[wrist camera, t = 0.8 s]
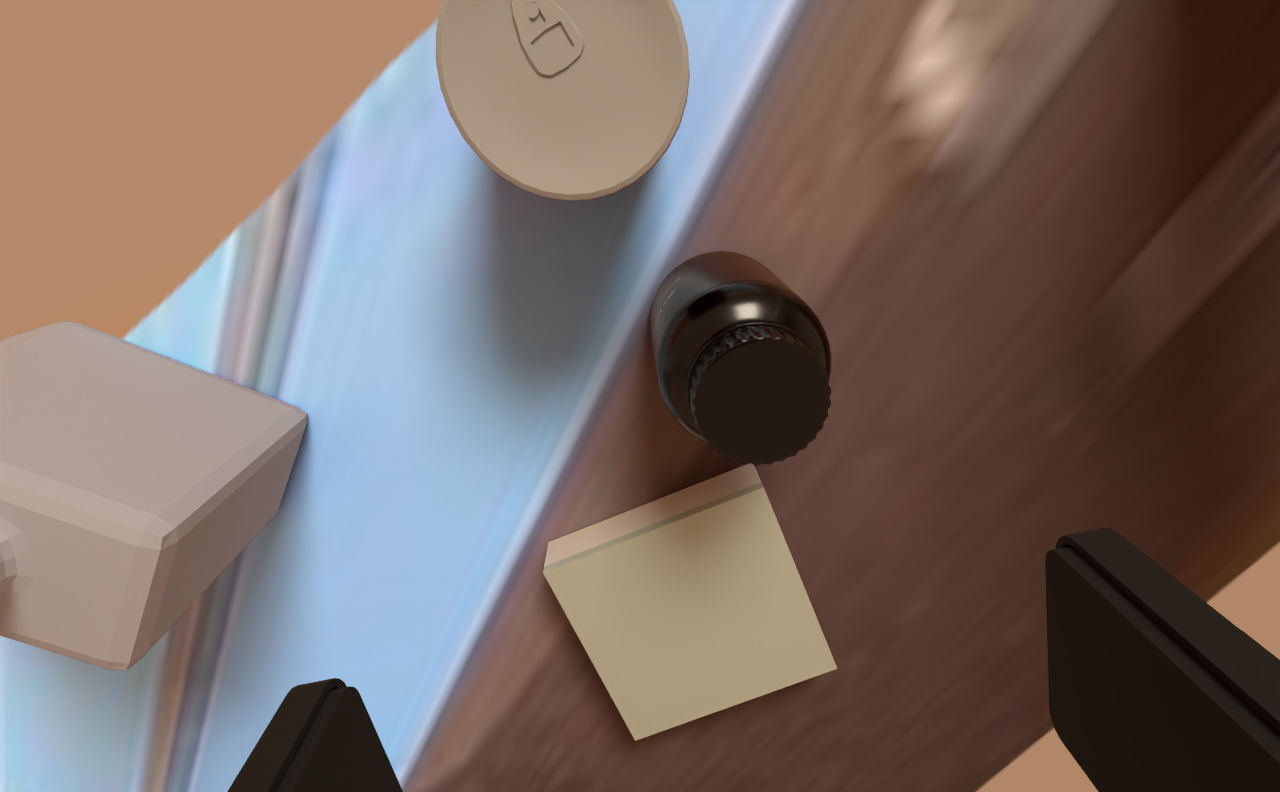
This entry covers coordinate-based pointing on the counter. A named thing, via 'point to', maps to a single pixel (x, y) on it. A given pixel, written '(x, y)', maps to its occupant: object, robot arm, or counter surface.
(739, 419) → the supplement bottle
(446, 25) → the canned food
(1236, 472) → the counter surface
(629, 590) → the plate
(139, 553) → the soap bottle
